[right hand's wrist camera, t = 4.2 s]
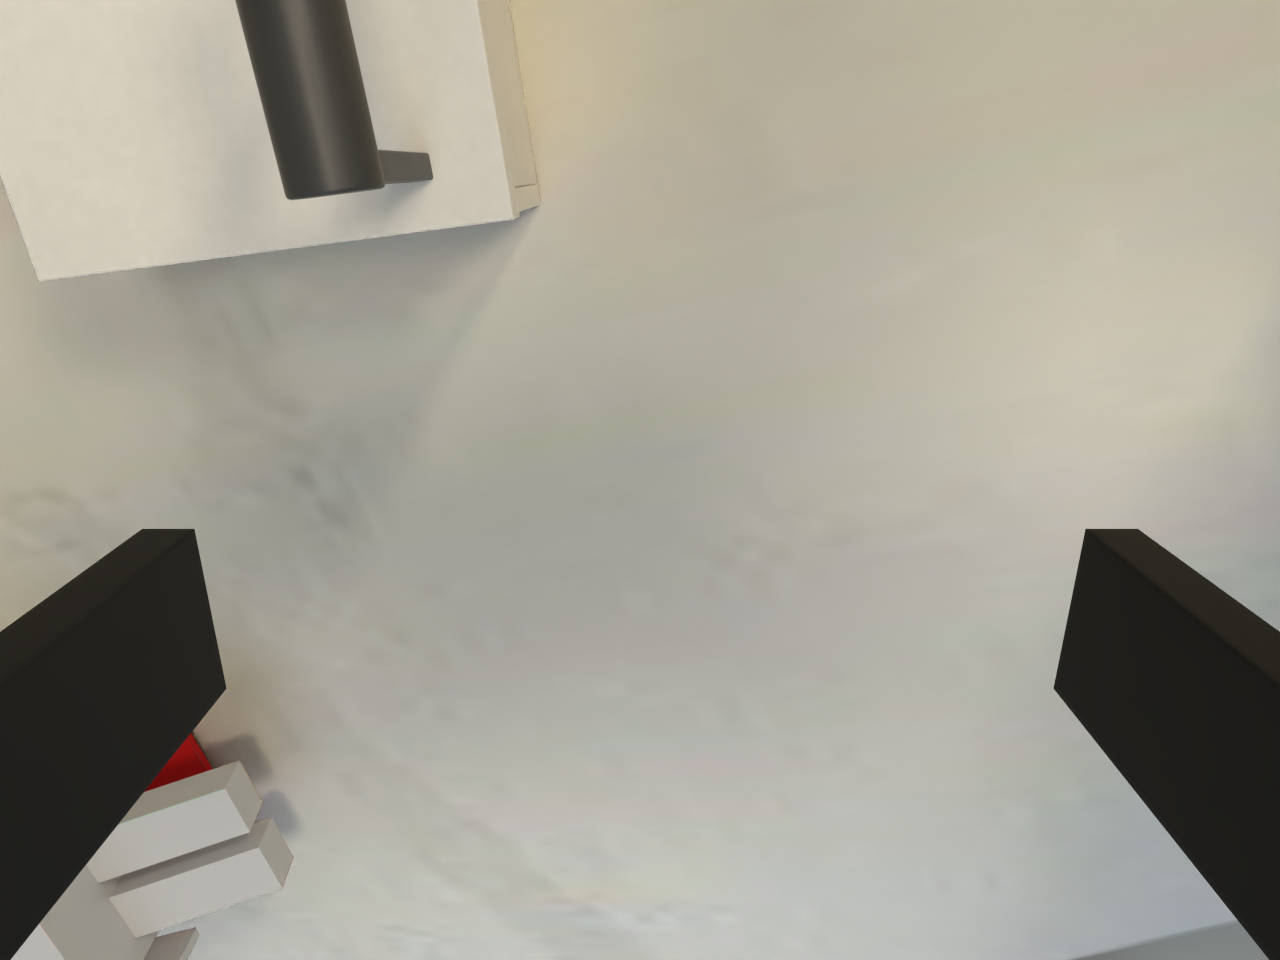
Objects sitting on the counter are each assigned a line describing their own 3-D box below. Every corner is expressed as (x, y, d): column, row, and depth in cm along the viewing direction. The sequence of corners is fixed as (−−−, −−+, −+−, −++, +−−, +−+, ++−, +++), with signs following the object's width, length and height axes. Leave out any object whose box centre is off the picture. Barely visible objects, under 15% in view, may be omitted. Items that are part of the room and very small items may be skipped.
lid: (455, -169, 22) (330, -396, 13) (520, 217, 25) (455, 243, 16) (-64, -90, 22) (-518, -257, 14) (66, 276, 26) (-233, 332, 17)
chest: (499, -58, 32) (432, -165, 22) (541, 204, 35) (499, 220, 25) (159, -9, 33) (-62, -90, 22) (231, 245, 36) (67, 276, 26)
